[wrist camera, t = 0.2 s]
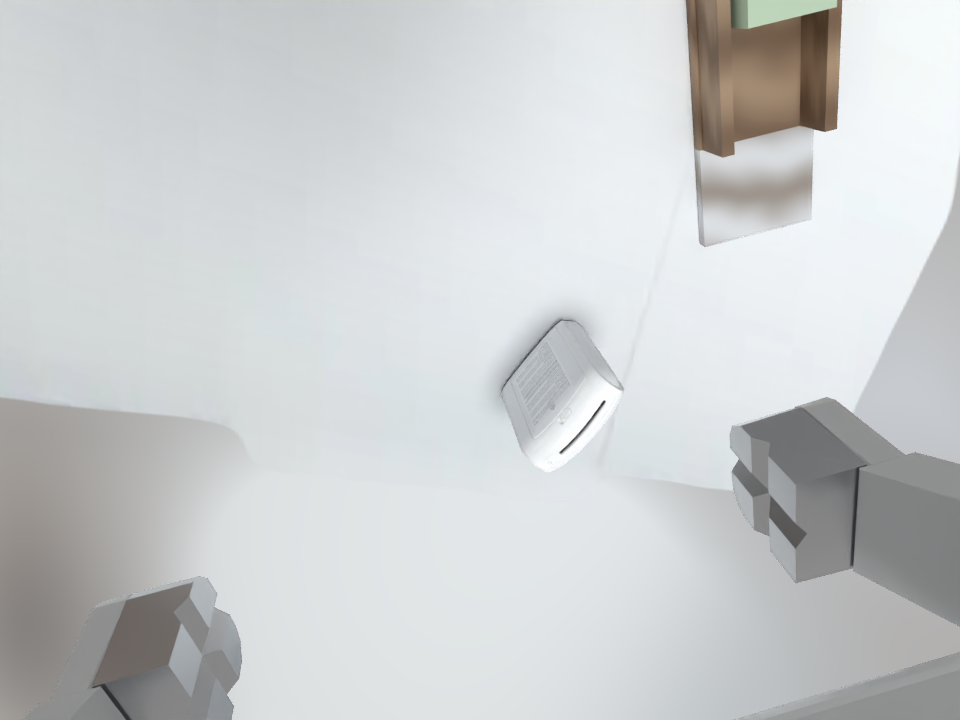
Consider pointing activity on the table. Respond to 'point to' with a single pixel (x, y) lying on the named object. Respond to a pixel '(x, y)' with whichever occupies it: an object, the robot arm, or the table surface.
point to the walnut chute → (758, 115)
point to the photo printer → (560, 396)
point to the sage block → (773, 11)
